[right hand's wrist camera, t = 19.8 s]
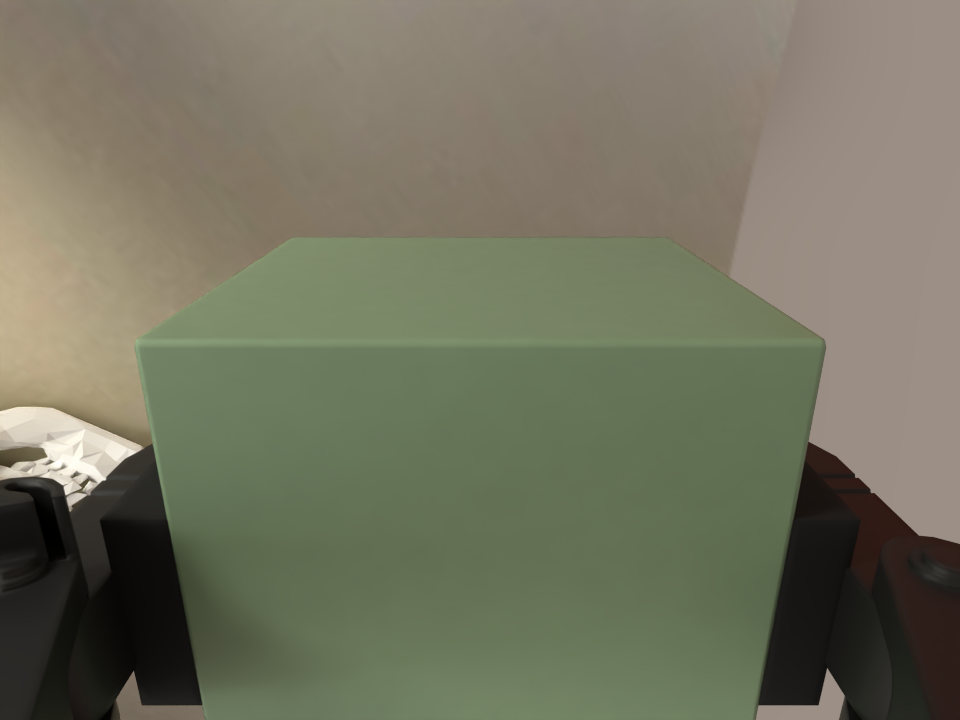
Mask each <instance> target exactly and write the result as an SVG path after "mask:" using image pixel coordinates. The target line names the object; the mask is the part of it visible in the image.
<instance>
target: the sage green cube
mask: <svg viewBox="0 0 960 720" xmlns="http://www.w3.org/2000/svg"><path fill="white" fill-rule="evenodd" d="M825 350H826V344H825V341H824V339H823V338H821V337H820V336H818V335H817V334H815V333H814V332H812V331H811V330H809V329H808V328H806V327H805V326H803V325H801V324H800V323H798V322H797V321H795V320H794V319H792V318H791V317H789V316H788V315H786V314H785V313H783V312H781V311H780V310H778V309H777V308H775V307H774V306H772V305H771V304H769V303H768V302H766V301H765V300H763V299H762V298H760V297H758V296H757V295H755V294H754V293H752V292H751V291H749V290H748V289H746V288H745V287H743V286H742V285H740V284H738V283H737V282H735V281H734V280H732V279H731V278H729V277H728V276H726V275H725V274H723V273H722V272H720V271H719V270H717V269H715V268H714V267H712V266H711V265H709V264H708V263H706V262H705V261H703V260H702V259H700V258H699V257H697V256H695V255H694V254H692V253H691V252H689V251H688V250H686V249H685V248H683V247H682V246H680V245H679V244H677V243H676V242H674V241H672V240H671V239H669V238H667V237H294V238H291V239H289V240H288V241H286V242H285V243H283V244H282V245H280V246H279V247H277V248H276V249H274V250H273V251H271V252H270V253H268V254H266V255H265V256H263V257H262V258H260V259H259V260H257V261H256V262H254V263H253V264H251V265H250V266H248V267H247V268H245V269H244V270H242V271H240V272H239V273H237V274H236V275H234V276H233V277H231V278H230V279H228V280H227V281H225V282H224V283H222V284H221V285H219V286H217V287H216V288H214V289H213V290H211V291H210V292H208V293H207V294H205V295H204V296H202V297H201V298H199V299H198V300H196V301H195V302H193V303H191V304H190V305H188V306H187V307H185V308H184V309H182V310H181V311H179V312H178V313H176V314H175V315H173V316H172V317H170V318H168V319H167V320H165V321H164V322H162V323H161V324H159V325H158V326H156V327H155V328H153V329H152V330H150V331H149V332H147V333H146V334H144V335H142V336H141V337H139V338H138V339H137V340H136V343H135V352H136V357H137V362H138V367H139V373H140V378H141V383H142V389H143V394H144V399H145V405H146V410H147V415H148V420H149V426H150V431H151V436H152V442H153V447H154V452H155V457H156V463H157V468H158V473H159V479H160V484H161V489H162V495H163V500H164V505H165V510H166V516H167V520H168V526H169V531H170V536H171V542H172V547H173V552H174V557H175V563H176V568H177V573H178V579H179V584H180V589H181V595H182V600H183V605H184V610H185V616H186V621H187V626H188V632H189V637H190V642H191V648H192V653H193V658H194V663H195V669H196V674H197V679H198V685H199V690H200V695H201V700H202V706H203V712H204V717H205V720H756V715H757V709H758V703H759V698H760V692H761V687H762V682H763V677H764V671H765V666H766V661H767V655H768V650H769V645H770V640H771V634H772V629H773V624H774V618H775V613H776V608H777V602H778V597H779V592H780V587H781V581H782V576H783V571H784V565H785V560H786V555H787V550H788V544H789V539H790V534H791V528H792V523H793V519H794V514H795V509H796V504H797V498H798V493H799V488H800V482H801V477H802V472H803V467H804V461H805V456H806V451H807V446H808V440H809V435H810V430H811V424H812V419H813V414H814V409H815V403H816V398H817V393H818V387H819V382H820V377H821V372H822V366H823V361H824V356H825Z"/></svg>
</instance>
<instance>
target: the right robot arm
mask: <svg viewBox="0 0 960 720" xmlns="http://www.w3.org/2000/svg"><path fill="white" fill-rule="evenodd" d="M827 668H828V670H829V671H830V673H831V674H832V676H833V677H834V679H835V681H836V682H837V684H838V685H839V687H840V689H841V690H842V692H843V693H844V695H845V698H844V702H843V706H842V710H841V714H840V718H839V720H960V544H958V543H954V542H950V541H946V540H942V539H938V538H935V537H926V536H919V535H917V534H916V533H915V532H914V531H913V530H912V529H911V528H910V527H909V526H908V525H907V524H906V523H905V522H904V521H903V520H902V519H901V518H900V517H899V516H898V515H897V514H896V513H895V512H894V511H892V510H891V509H890V508H889V507H888V506H887V505H886V504H885V503H884V502H883V501H882V500H881V499H880V498H879V497H878V496H877V495H876V494H875V493H871V492H870V488H869V487H867V486H866V485H865V484H864V483H863V482H862V481H861V480H860V479H859V478H855V474H854V473H853V472H852V471H851V470H850V469H849V468H848V467H847V466H846V465H845V464H844V463H842V462H841V461H840V460H839V459H838V458H837V457H836V456H834V455H832V454H830V453H829V452H827V451H825V450H823V449H821V448H819V447H817V446H816V445H814V444H812V443H810V442H808V446H807V451H806V456H805V461H804V467H803V472H802V477H801V482H800V488H799V493H798V498H797V504H796V509H795V514H794V519H793V523H792V528H791V534H790V539H789V544H788V550H787V555H786V560H785V565H784V571H783V576H782V581H781V587H780V592H779V597H778V602H777V608H776V613H775V618H774V624H773V629H772V634H771V640H770V645H769V650H768V655H767V661H766V666H765V671H764V677H763V682H762V687H761V692H760V698H759V703H758V705H819V701H820V696H821V692H822V687H823V683H824V679H825V675H826V670H827ZM133 671H134V673H135V677H136V681H137V686H138V690H139V694H140V699H141V703H142V705H202V700H201V695H200V690H199V685H198V679H197V674H196V669H195V663H194V658H193V653H192V648H191V642H190V637H189V632H188V626H187V621H186V616H185V610H184V605H183V600H182V595H181V589H180V584H179V579H178V573H177V568H176V563H175V557H174V552H173V547H172V542H171V536H170V531H169V526H168V520H167V516H166V510H165V505H164V500H163V495H162V489H161V484H160V479H159V473H158V468H157V463H156V457H155V452H154V447H153V444H151V445H150V446H148V447H146V448H144V449H142V450H140V451H138V452H137V453H135V454H133V455H131V456H129V457H127V458H125V459H124V460H123V461H122V462H121V463H120V464H119V465H118V466H117V467H116V468H115V469H114V470H113V471H112V472H111V473H110V474H109V475H108V476H106V480H102V481H101V482H100V483H99V484H98V485H97V486H96V487H95V488H94V489H93V490H92V491H91V495H90V496H86V497H85V498H84V499H83V500H82V501H81V502H80V503H79V504H78V505H77V506H75V507H74V508H73V509H72V510H71V511H69V507H68V503H67V499H66V495H65V491H64V487H63V485H62V484H60V483H59V482H57V481H55V480H54V479H51V478H44V477H36V476H31V477H17V478H8V479H4V480H0V720H120V714H119V710H118V706H117V702H116V698H117V696H118V695H119V693H120V691H121V690H122V688H123V687H124V685H125V683H126V682H127V680H128V679H129V677H130V675H131V674H132V672H133Z"/></svg>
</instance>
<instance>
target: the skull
mask: <svg viewBox="0 0 960 720" xmlns="http://www.w3.org/2000/svg"><path fill="white" fill-rule="evenodd" d="M25 447H34V448H42V449H43V450H44V451H45V453H46V455H47V456H48V457H46V458H43V459H40V460H37V461H33V462H30V461H29V462H16V463H15V464H14V465H13V466H12V467H11V468H8V467H5V466H1V465H0V480H4V479H8V478H17V477H31V476H36V477H44V478H51V479H54V480H55V481H57V482H59V483H60V484H62V485H63V486H64V491H65V495H66V496H67V495H69V494H70V495H69V496H68V497H67V498H66V499H67V503H68V507H69V511H71V510H72V509H73V507H72V506H71V505H73V504H74V503H76V502H77V501H79V500H81V499H82V498H84V497H85V496H87V495H91V491H92V490H93V489H94V488H95V487H96V486H97V485H98V484H99V483H100V482H101V481H102V480H106V476H108V475H109V474H110V473H111V472H112V471H113V470H114V469H115V468H116V467H117V466H118V465H119V464H120V463H121V462H122V461H123V460H124V459H125V458H127V457H129V456H131V455H133V454H135V453H137V452H138V451H140V450H142V449H144V448H143V447H142V446H141V445H139V444H136V443H134V442H132V441H129V440H127V439H125V438H122V437H120V436H117V435H115V434H113V433H110V432H108V431H106V430H104V429H101V428H99V427H97V426H94V425H92V424H90V423H87V422H85V421H83V420H80V419H78V418H76V417H73V416H71V415H69V414H66V413H64V412H61V411H59V410H57V409H54V408H47V407H15V408H12V409H8V410H4V411H0V451H1V450H9V449H17V448H25ZM52 461H54V463H52V464H50V463H51V462H52ZM48 464H49V465H48ZM62 468H64V469H62ZM61 469H62V470H61ZM73 475H75V476H77V477H74V478H71V477H72V476H73ZM87 478H88V479H90V480H91V481H93V482H91V481H89V482H88V484H87V485H86V486H85V488H84V489H83V490H82V492H83V493H85V494H81V493H74V494H71V493H73V492H75V491H77V490H79V489H81V488H82V487H80V486H79V485H80V484H81V483H83V482H84V481H85V480H86V479H87ZM94 482H95V483H94Z"/></svg>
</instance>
